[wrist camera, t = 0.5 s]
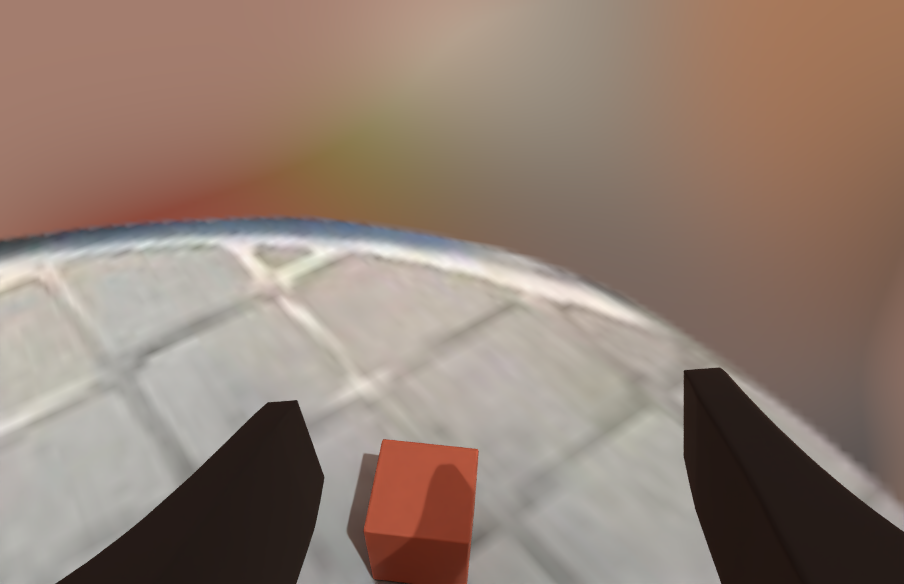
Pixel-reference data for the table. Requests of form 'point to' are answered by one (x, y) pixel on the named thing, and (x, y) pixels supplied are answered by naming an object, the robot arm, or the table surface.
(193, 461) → the table surface
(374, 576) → the block
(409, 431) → the table surface
